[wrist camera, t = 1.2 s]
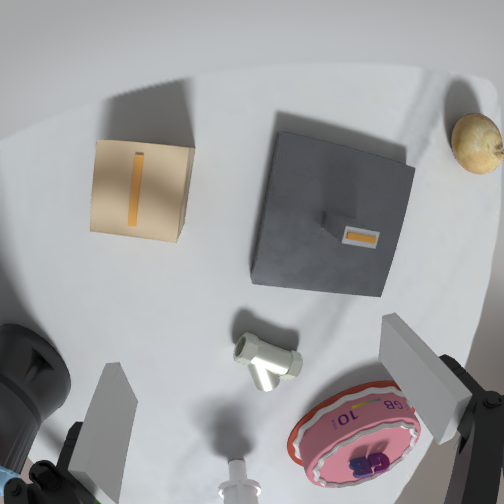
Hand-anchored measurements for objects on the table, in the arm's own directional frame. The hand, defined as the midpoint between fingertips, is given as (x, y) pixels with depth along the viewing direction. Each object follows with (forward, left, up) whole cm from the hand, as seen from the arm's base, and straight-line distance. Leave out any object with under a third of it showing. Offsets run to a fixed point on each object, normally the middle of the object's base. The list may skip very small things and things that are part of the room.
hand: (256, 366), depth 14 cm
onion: (+28, +18, -21) cm, 39 cm away
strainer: (+7, -41, -21) cm, 47 cm away
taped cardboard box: (-9, +5, -21) cm, 24 cm away
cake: (+27, -32, -22) cm, 47 cm away
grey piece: (+11, +4, -21) cm, 24 cm away
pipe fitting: (+6, -15, -22) cm, 27 cm away
